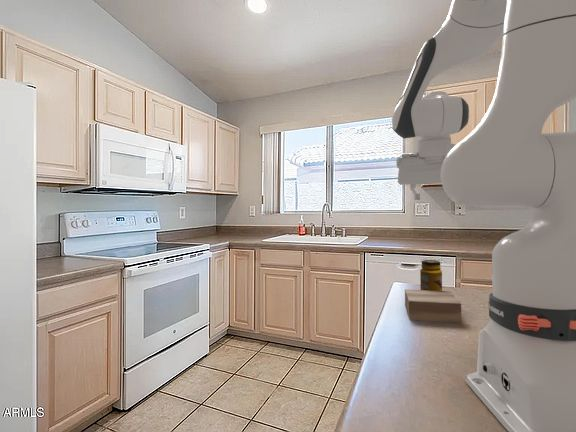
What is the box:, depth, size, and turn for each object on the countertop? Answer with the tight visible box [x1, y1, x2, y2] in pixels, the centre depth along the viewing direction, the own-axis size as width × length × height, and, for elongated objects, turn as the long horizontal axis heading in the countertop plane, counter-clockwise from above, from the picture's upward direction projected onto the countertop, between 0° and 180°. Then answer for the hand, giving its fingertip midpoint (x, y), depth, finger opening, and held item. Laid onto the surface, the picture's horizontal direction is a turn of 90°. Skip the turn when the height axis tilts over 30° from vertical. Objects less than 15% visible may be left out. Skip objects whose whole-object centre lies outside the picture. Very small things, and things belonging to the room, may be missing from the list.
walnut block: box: [404, 289, 462, 324], centre depth 87 cm, size 12×12×5 cm
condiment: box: [419, 259, 443, 291], centre depth 99 cm, size 7×8×12 cm
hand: (434, 199), depth 95 cm, fingers open, 8 cm apart
